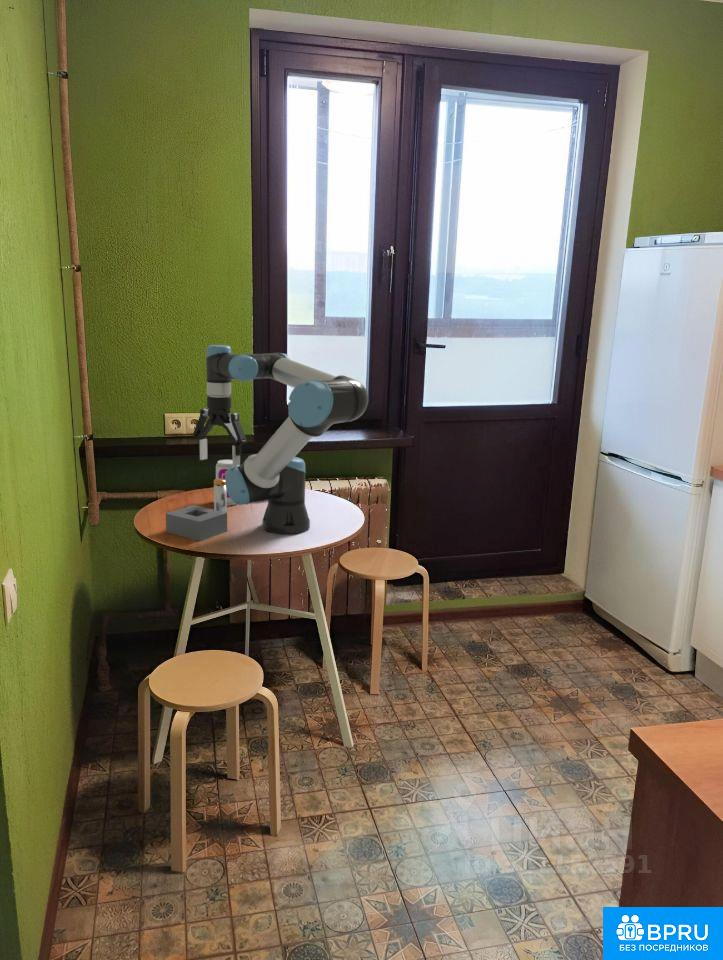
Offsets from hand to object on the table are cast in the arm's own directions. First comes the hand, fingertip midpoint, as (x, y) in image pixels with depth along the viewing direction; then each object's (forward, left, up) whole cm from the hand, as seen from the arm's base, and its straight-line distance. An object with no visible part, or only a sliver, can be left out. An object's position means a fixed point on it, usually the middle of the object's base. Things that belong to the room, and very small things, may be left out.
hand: (219, 462), depth 234 cm
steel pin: (0, 0, -20) cm, 20 cm away
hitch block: (-1, +12, -20) cm, 23 cm away
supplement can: (+13, -18, -20) cm, 30 cm away
